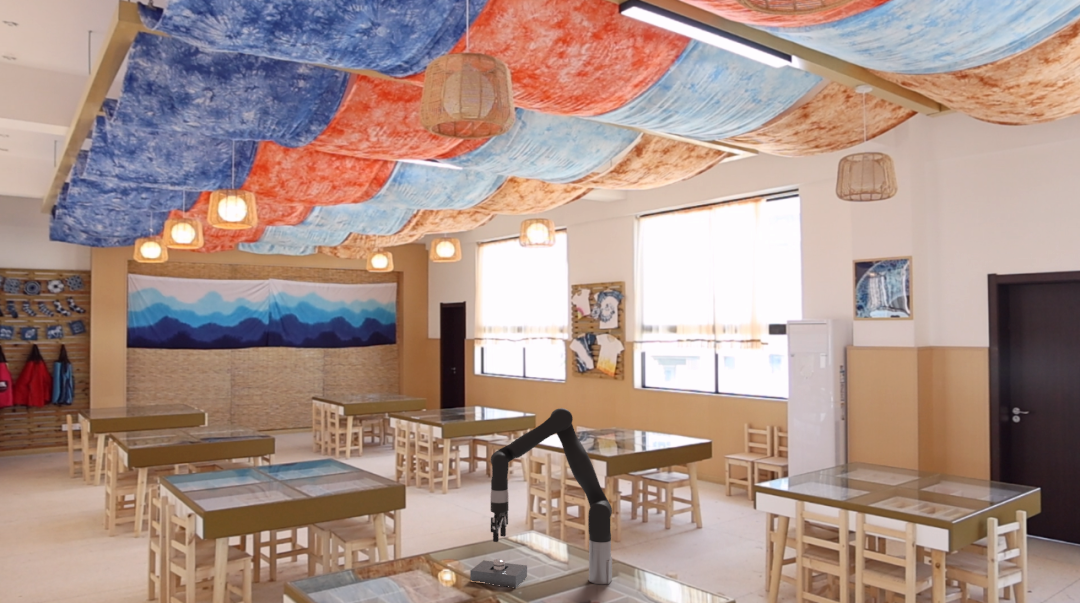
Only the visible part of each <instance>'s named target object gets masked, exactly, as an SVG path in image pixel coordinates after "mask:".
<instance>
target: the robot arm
mask: <svg viewBox="0 0 1080 603" xmlns="http://www.w3.org/2000/svg"><path fill="white" fill-rule="evenodd" d="M573 419H574V418H573V415H572V413H571V411H570V410H569V409H567V408H563V407H561V408H556V409H554V410H553V411H552V412H551V413H550V416H549V417H548V418H547V419H546V420H545V421H544V422H543V423H541V424H540V425H537V427H535V428H533V429H532V430H529V431H527V432H526V433H524V434H523V435H521V436H518V437H517V438H516V439H515V440H513V441H512V442H511V443H508V445H505V446H503V447H501V448H499V449H498V450H496V451H495V452H493V453H492V454H491V456H490V463H491V469H492V470H491V473H492V475H491V481H490V483H491V484H490V486H491V487H490V512H492V513H493V517H490V533H491V534H492V541H493V543H498V542H499V538H500V537H502V538H503V537H506V535H507V526H508V525H509V485H508V484H509V482H508V479H509V478H508V476H509V463H510V462H511V461H512V460H515V459H519V458H520V457H522V456H524V455H525V454H527V453H529V452H530V451H531V450H532V449H534V448H536V447H537V446H538V445H539V444H540V443H542V442H544V441H545V440H546V439H548V438H550V437H552V436H553V435H555V434H556V435H557V437H558V439H559V442H560V443H561V446H562V449H563V452H564V455H565V458H566V460H567V464H568V466H569V468H570V471H571V473H572V475H573V477H574V479H575V481H577V483H578V485H579V486H580V487H581V489H582V490H583V492H584V493H585V497H586V499H587V501H588V502H587V503H588V504H589V510H588V515H587V516H588V517H587V518H588V536H589V537H588V541H589V542H588V545H589V546H588V553H589V554H588V582H590V583H592V584H595V585H610V583H611V581H613V556H612V530H611V518H612V514H613V508H612V505H611V503H610V501H609V500H608V498H607V497H606V494H605V493H604V491H603V489H602V486H601V485H600V481H599V479H598V476H597V473H596V471H595V468H594V465H593V463H592V461H591V459H590V456H589V454H588V452H587V450H586V448H585V447H584V445H583V444H582V443H581V441H580V439H579V438H578V435H577V434H576V430H575V429H574V425H573ZM499 535H500V537H499Z"/></svg>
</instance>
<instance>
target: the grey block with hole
mask: <svg viewBox="0 0 1080 603" xmlns="http://www.w3.org/2000/svg"><path fill="white" fill-rule="evenodd" d="M493 564H494V560H491V561H490V560H482V561H481V562H479V563H478V564H477V565H476V566H474V567H473V568H472V569H470V575H469V577H470V579H469V580H472V581H480V582H485V583H490V584H494V585H500V586H499V587H501V586H509V587H514V588H513V589H517V588H518V587H519V586H520V585H521V584H522V583H523V582H524V581H525V580H526V579H527V578H526V577H528V565H524V564H518V563H510V562H509V563H508V562H505V570H504V571H498V570H494V565H493ZM525 578H526V579H525ZM524 579H525V580H524ZM523 580H524V581H523ZM522 581H523V582H522ZM521 582H522V583H521ZM520 583H521V584H520ZM519 584H520V585H519ZM518 585H519V586H518ZM517 586H518V587H517ZM509 587H508V588H509ZM516 587H517V588H516Z"/></svg>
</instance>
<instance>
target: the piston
mask: <svg viewBox="0 0 1080 603" xmlns="http://www.w3.org/2000/svg"><path fill="white" fill-rule="evenodd" d="M493 562H494V564H493V565H494V570H498V571H504V570H505V563H506V560H505V559H504V558H496V559H494V560H493Z"/></svg>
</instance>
